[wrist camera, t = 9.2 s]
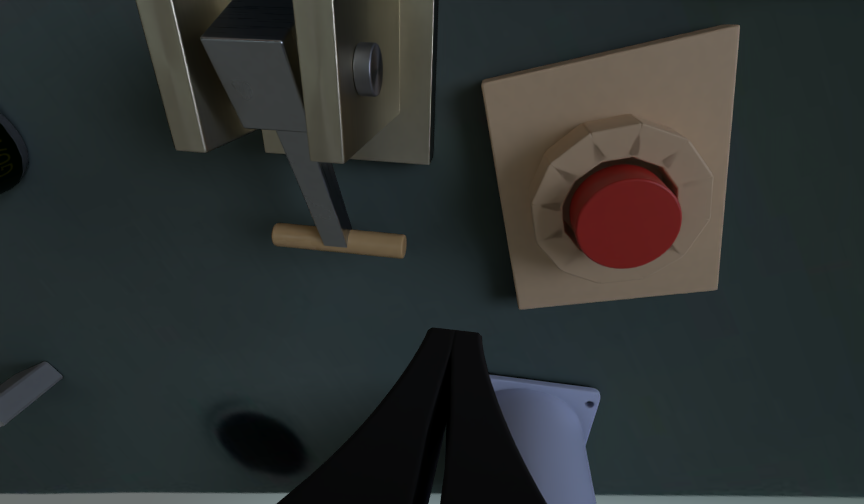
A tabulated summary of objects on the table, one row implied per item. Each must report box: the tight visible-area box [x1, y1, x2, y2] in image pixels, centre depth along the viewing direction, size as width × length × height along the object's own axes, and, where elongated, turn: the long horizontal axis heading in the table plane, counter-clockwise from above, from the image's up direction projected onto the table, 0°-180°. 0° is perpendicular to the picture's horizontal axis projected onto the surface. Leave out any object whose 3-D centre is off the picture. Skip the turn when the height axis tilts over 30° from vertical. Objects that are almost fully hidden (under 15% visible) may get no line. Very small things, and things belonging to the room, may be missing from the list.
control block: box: [481, 25, 740, 309], centre depth 18 cm, size 11×9×3 cm
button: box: [569, 164, 682, 269], centre depth 16 cm, size 4×4×2 cm
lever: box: [200, 0, 406, 259], centre depth 15 cm, size 10×6×2 cm, turn 1°
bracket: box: [135, 0, 439, 165], centre depth 14 cm, size 9×8×8 cm
